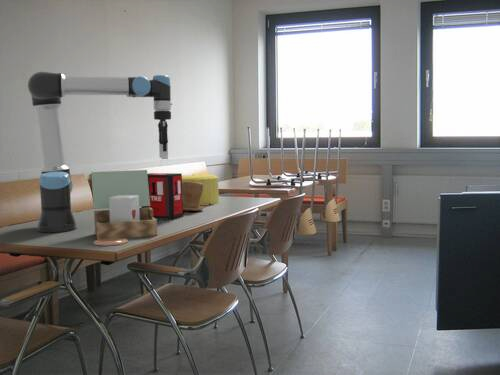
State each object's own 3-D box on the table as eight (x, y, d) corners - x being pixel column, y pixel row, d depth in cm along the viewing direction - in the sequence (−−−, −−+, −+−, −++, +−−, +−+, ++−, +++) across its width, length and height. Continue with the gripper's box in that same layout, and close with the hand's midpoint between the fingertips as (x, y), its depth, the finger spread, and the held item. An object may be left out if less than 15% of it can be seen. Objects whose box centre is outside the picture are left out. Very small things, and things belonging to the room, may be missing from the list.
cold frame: (97, 240, 215) (96, 215, 215) (95, 233, 230) (94, 210, 229) (157, 235, 222) (156, 212, 221) (151, 229, 237) (150, 207, 236)
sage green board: (91, 172, 232) (91, 172, 233) (93, 209, 229) (93, 209, 229) (146, 169, 239) (146, 170, 240) (150, 205, 236) (150, 205, 236)
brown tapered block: (208, 209, 291) (207, 179, 290) (197, 213, 280) (196, 182, 279) (181, 208, 297) (180, 179, 295) (169, 212, 286) (168, 181, 284)
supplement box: (131, 236, 221) (130, 197, 219) (109, 236, 222) (108, 197, 221) (141, 232, 230) (139, 194, 228) (119, 232, 231) (118, 194, 230)
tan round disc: (94, 247, 203) (94, 245, 202) (92, 241, 214) (92, 239, 214) (129, 244, 206) (129, 242, 206) (125, 238, 218) (125, 236, 218)
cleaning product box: (183, 216, 270) (181, 173, 268) (173, 219, 261) (172, 175, 259) (151, 215, 276) (150, 173, 274) (141, 218, 267) (140, 174, 265)
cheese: (178, 200, 335) (177, 174, 333) (222, 200, 331) (222, 173, 330) (165, 206, 309) (164, 177, 308) (213, 206, 305) (212, 177, 304)
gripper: (173, 109, 249) (174, 159, 251) (168, 111, 273) (169, 157, 275) (155, 109, 247) (156, 159, 249) (152, 111, 272) (153, 157, 274)
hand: (163, 158), depth 262 cm, fingers open, 13 cm apart
